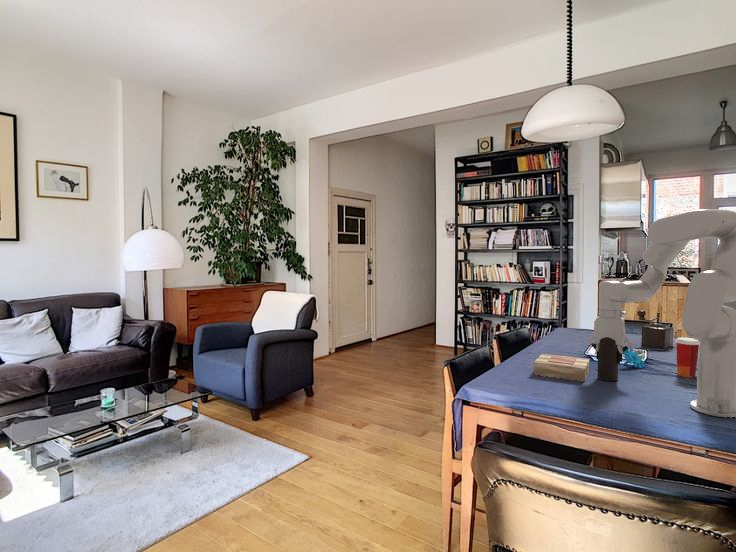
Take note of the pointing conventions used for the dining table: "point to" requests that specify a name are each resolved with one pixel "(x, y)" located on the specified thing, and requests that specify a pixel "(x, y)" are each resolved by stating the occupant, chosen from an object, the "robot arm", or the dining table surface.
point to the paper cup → (687, 356)
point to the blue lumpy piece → (633, 358)
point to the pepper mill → (655, 333)
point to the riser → (562, 367)
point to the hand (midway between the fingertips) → (609, 361)
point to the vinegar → (608, 359)
